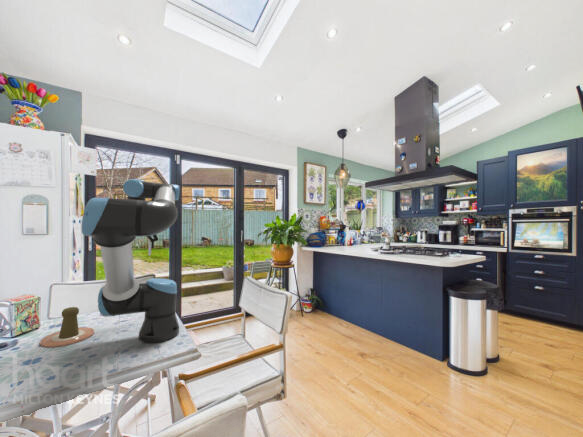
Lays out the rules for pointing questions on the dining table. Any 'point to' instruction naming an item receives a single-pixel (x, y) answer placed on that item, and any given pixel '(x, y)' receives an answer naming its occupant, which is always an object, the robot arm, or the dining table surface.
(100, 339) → the dining table surface
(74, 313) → the cork
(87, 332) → the dish
